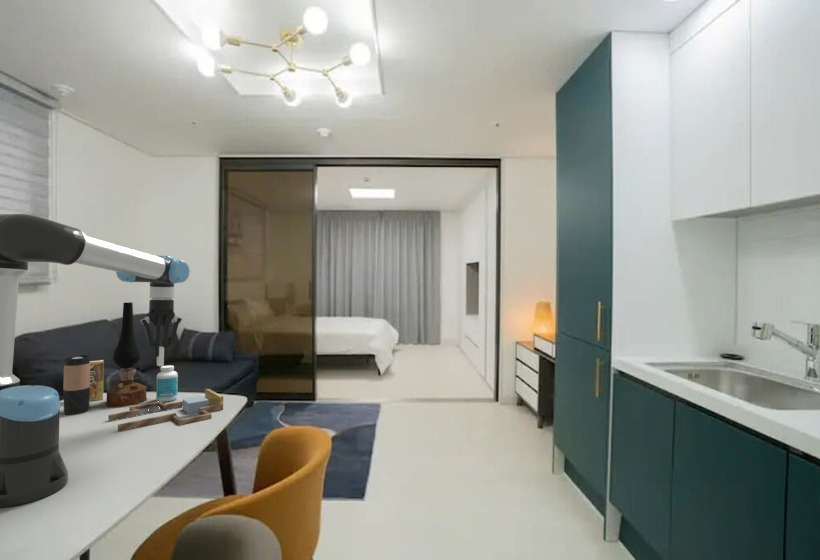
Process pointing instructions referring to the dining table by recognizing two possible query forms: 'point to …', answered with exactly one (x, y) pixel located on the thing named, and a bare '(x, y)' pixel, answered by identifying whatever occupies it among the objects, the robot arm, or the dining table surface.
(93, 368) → the candy box
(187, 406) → the slate block
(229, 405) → the dining table surface
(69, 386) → the travel mug
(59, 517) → the dining table surface
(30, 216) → the robot arm
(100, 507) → the dining table surface
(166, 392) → the pill bottle
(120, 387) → the oil lamp
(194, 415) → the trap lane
